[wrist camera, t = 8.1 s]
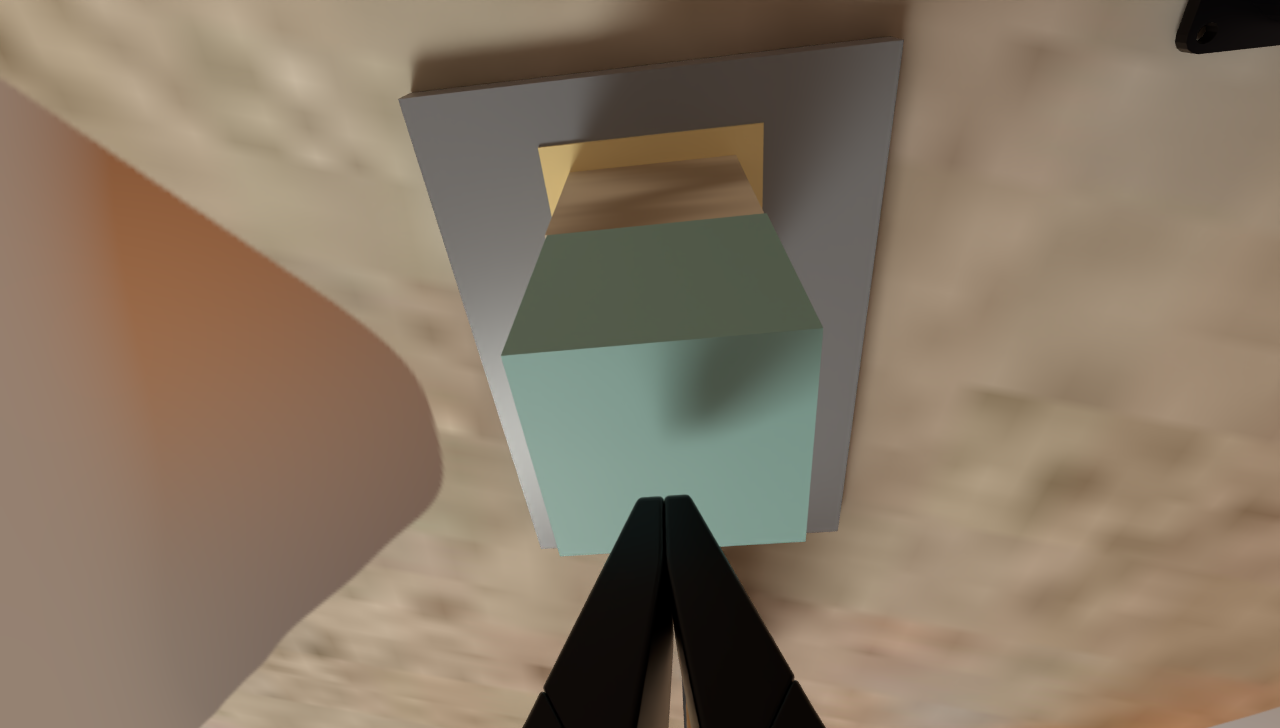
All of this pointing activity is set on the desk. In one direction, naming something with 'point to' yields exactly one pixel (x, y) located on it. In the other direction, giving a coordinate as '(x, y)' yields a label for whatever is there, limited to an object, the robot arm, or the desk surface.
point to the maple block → (653, 195)
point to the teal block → (668, 379)
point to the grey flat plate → (664, 132)
